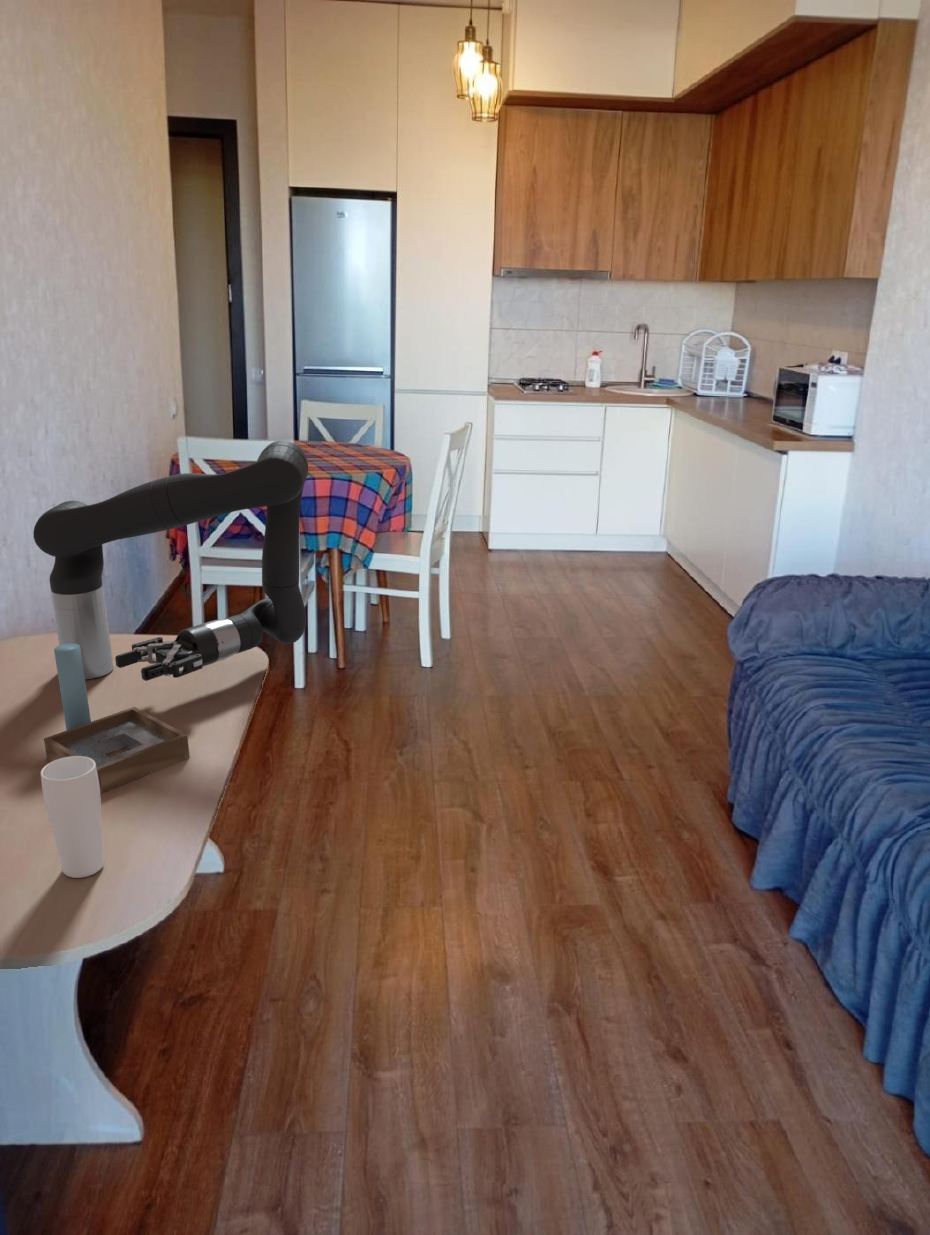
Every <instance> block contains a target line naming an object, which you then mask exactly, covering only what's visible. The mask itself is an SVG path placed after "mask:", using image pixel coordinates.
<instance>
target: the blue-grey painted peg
mask: <svg viewBox="0 0 930 1235" xmlns="http://www.w3.org/2000/svg"><path fill="white" fill-rule="evenodd" d="M53 651H54V653H53V654H54V658H55V665H56V671H57V672H56V673H57V678H58V683H59V691H60V696H61V703H62V709H63V716H64V723H65V729H66V730H65V731H67V730H69V729H72V728H75V727H78V726H81V725H84V724H86V723H89V722H92V719H91V713H90V706H89V698H88V691H87V686H86V679H85V677H84V670H83V663H82V656H81V649H80V645H79V644H75V643H68V644H62V645H59V644H58V645H57V646H55V647H54V648H53Z"/></svg>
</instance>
